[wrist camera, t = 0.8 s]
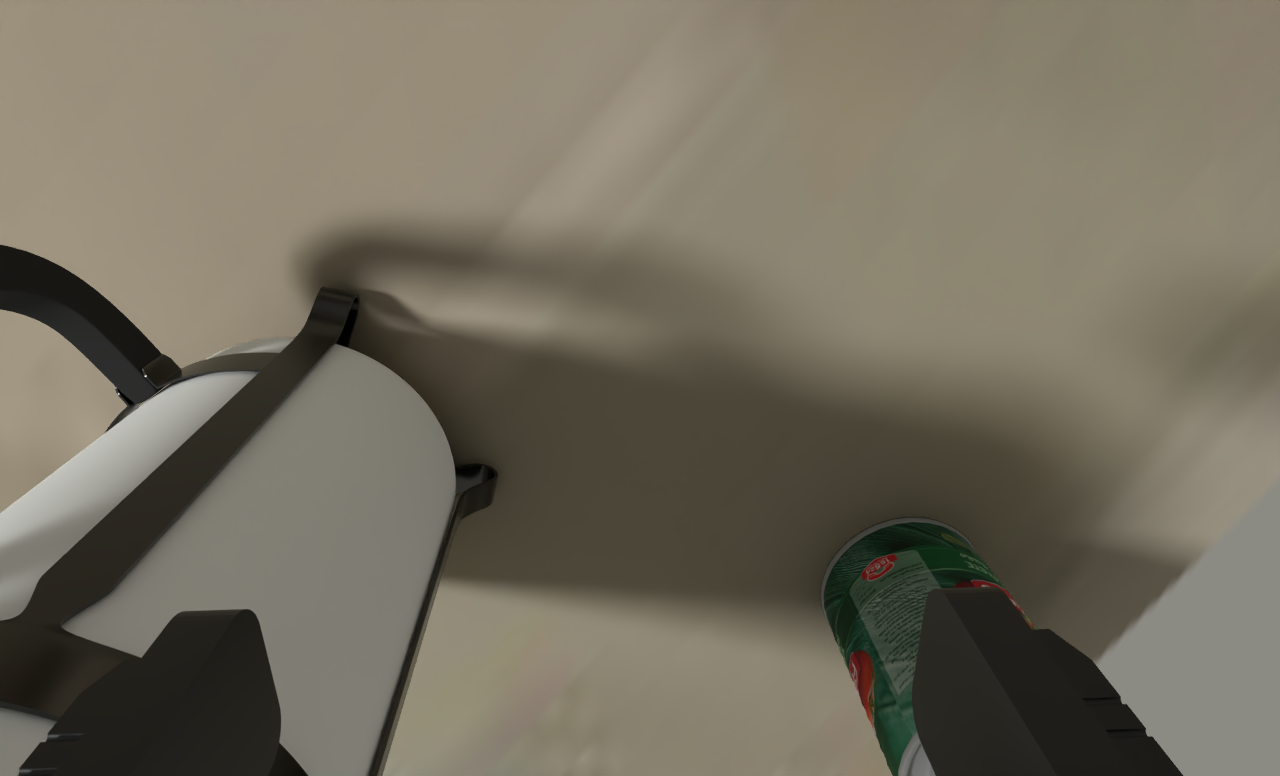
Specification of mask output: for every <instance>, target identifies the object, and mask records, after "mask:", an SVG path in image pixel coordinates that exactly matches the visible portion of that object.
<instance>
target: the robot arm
mask: <svg viewBox="0 0 1280 776" xmlns="http://www.w3.org/2000/svg"><path fill="white" fill-rule="evenodd" d="M1120 699H1121V698H1120V695H1119V694H1118V693H1117V691H1116V690H1115V689H1114V688H1113V686H1112V685H1111V684H1110V683H1109V681H1108V680H1107V679H1106V678H1105V676H1104V675H1103V674H1102V673H1101V671H1100V670H1099V669H1098V667H1097V666H1096V665H1095V664H1094V662H1093V661H1092V660H1091V659H1090V658H1088V657H1087V656H1086V655H1084V654H1083V653H1081V652H1080V651H1079V650H1077V649H1076V648H1075V647H1073V646H1072V645H1070V644H1069V643H1068V642H1066V641H1065V640H1063V639H1062V638H1061V637H1059V636H1058V635H1057V634H1055V633H1054V632H1052V631H1051V630H1050V629H1038V630H1032V629H1031V628H1030V626H1029V625H1028V623H1027V622H1026V621H1025V619H1024V618H1023V617H1022V615H1021V614H1020V612H1019V611H1018V610H1017V608H1016V607H1015V606H1014V604H1013V603H1012V602H1011V600H1010V599H1009V597H1008V596H1007V595H1006V594H1005V593H1004V591H1002V590H1001V589H1000V588H998V587H968V588H938V589H933V590H931V591H930V593H929V594H928V596H927V599H926V603H925V609H924V615H923V621H922V628H921V634H920V640H919V646H918V653H917V659H916V665H915V672H914V678H913V685H912V708H913V715H914V721H915V726H916V729H917V733H918V736H919V739H920V742H921V744H922V746H923V749H924V751H925V753H926V755H927V757H928V760H929V762H930V764H931V766H932V768H933V771H934V773H935V775H936V776H1183V775H1182V774H1181V772H1180V771H1179V770H1178V768H1177V767H1176V766H1175V765H1174V764H1173V762H1172V761H1171V760H1170V758H1169V757H1168V756H1167V755H1166V753H1165V752H1164V751H1163V749H1162V748H1161V747H1160V746H1159V744H1158V743H1157V742H1156V741H1155V740H1154V738H1153V737H1148V736H1147V735H1146V728H1145V727H1144V726H1143V724H1142V723H1141V722H1140V720H1139V719H1138V718H1137V717H1136V715H1135V714H1134V713H1133V712H1132V710H1131V709H1130V708H1129V707H1128V705H1127V704H1122V703H1121V700H1120ZM280 734H281V710H280V705H279V700H278V696H277V692H276V688H275V684H274V680H273V676H272V672H271V668H270V663H269V659H268V655H267V651H266V647H265V643H264V639H263V635H262V631H261V627H260V623H259V620H258V618H257V616H256V614H255V613H254V612H253V611H251V610H249V609H232V610H202V611H182V612H180V613H178V614H176V615H175V616H174V617H173V618H172V619H171V620H170V621H169V623H168V624H167V625H166V626H165V628H164V629H163V630H162V632H161V633H160V634H159V636H158V637H157V638H156V640H155V641H154V642H153V643H152V645H151V646H150V647H149V649H148V650H147V651H146V653H145V654H144V655H143V657H142V658H129V659H126V660H124V661H123V662H122V663H120V664H119V665H118V666H116V667H115V668H114V669H112V670H111V671H110V672H108V673H107V674H106V675H104V676H103V677H101V678H100V679H99V680H97V681H96V682H95V683H93V684H92V685H91V686H89V687H88V688H87V689H85V690H84V691H83V692H81V693H80V694H79V696H78V697H77V698H76V699H75V700H74V702H73V703H72V704H71V705H70V707H69V708H68V709H67V710H66V711H65V713H64V714H63V715H62V716H61V718H60V719H59V720H58V721H57V723H56V724H55V725H54V726H53V727H52V729H51V730H50V731H49V732H48V734H47V735H48V737H47V740H46V742H40V743H39V745H38V746H37V747H36V748H35V749H34V751H33V752H32V753H31V754H30V756H29V757H28V758H27V759H26V760H25V762H24V763H23V764H22V765H21V767H20V768H19V774H18V776H268V774H269V772H270V770H271V768H272V766H273V763H274V761H275V758H276V754H277V750H278V746H279V741H280Z"/></svg>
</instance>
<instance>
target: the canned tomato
mask: <svg viewBox="0 0 1280 776" xmlns="http://www.w3.org/2000/svg"><path fill="white" fill-rule="evenodd" d="M968 587H998V588H1000V589H1001V590H1002V591H1004V593H1005V594H1006V595H1007V596H1008V597H1009V599H1010V600H1011V602H1012V603H1013V604H1014V606H1015V607H1016V608H1017V610H1018V611H1019V612H1020V614H1021V615H1022V617H1023V618H1024V619H1025V621H1026V622H1027V623H1028V625H1029V626H1030V628H1031V629H1032V630H1037V629H1036V627H1035V626H1034V625H1033V624H1032V622H1031V621H1030V620H1029V619H1028V617H1027V616H1026V614H1025V613H1024V612H1023V611H1022V609H1021V608H1020V607H1019V606H1018V605H1017V603H1016V602H1015V600H1014V599H1013V598H1012V597H1011V595H1010V594H1009V593H1008V591H1007V590H1006V589H1005V588H1004V586H1003V585H1002V584H1001V583H1000V581H999V580H998V579H997V577H996V576H995V575H994V574H993V572H992V571H991V569H990V568H989V567H988V566H987V565H986V563H985V562H984V561H983V560H982V558H981V557H980V556H979V555H978V554H977V552H976V550H975V548H974V547H973V545H972V544H971V543H970V542H969V540H968V539H967V538H966V537H965V536H964V535H962V534H961V533H960V532H959V531H957V530H956V529H955V528H953V527H951V526H949V525H947V524H944V523H942V522H939V521H935V520H931V519H927V518H911V517H910V518H901V519H893V520H890V521H887V522H883V523H880V524H877V525H875V526H873V527H871V528H868V529H866V530H864V531H862V532H861V533H859V534H858V535H857V536H855V537H854V538H852V539H851V540H849V541H848V542H847V543H846V544H845V545H844V546H843V547H842V548H841V549H840V550H839V551H838V552H837V554H836V555H835V557H834V558H833V559H832V561H831V562H830V564H829V566H828V568H827V570H826V573H825V575H824V577H823V582H822V587H821V605H822V608H823V612H824V615H825V618H826V620H827V621H828V623H829V625H830V627H831V629H832V632H833V634H834V637H835V640H836V642H837V644H838V646H839V649H840V652H841V654H842V656H843V658H844V661H845V664H846V666H847V668H848V670H849V672H850V676H851V678H852V680H853V682H854V684H855V687H856V691H857V692H858V694H859V696H860V698H861V702H862V705H863V706H864V708H865V710H866V713H867V717H868V719H869V721H870V722H871V724H872V727H873V731H874V733H875V735H876V737H877V739H878V741H879V744H880V748H881V750H882V752H883V753H884V755H885V758H886V761H887V765H888V767H889V769H890V771H891V773H892V775H893V776H936V775H935V773H934V771H933V768H932V766H931V764H930V762H929V760H928V757H927V755H926V753H925V751H924V749H923V746H922V744H921V742H920V739H919V736H918V733H917V729H916V726H915V721H914V715H913V708H912V685H913V678H914V672H915V665H916V659H917V653H918V646H919V640H920V634H921V628H922V621H923V615H924V609H925V603H926V599H927V596H928V594H929V593H930V591H931V590H933V589H938V588H968Z"/></svg>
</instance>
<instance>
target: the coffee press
mask: <svg viewBox="0 0 1280 776" xmlns="http://www.w3.org/2000/svg"><path fill="white" fill-rule="evenodd" d="M0 309H2V310H7V311H12V312H16V313H19V314H23V315H26V316H29V317H31V318H34V319H36V320H38V321H40V322H42V323H44V324H46V325H48V326H50V327H51V328H53V329H54V330H56V331H57V332H58V333H60V334H61V335H62V336H63V337H65V338H66V339H67V340H68V341H70V342H71V343H72V344H73V345H74V346H75V347H76V348H77V349H78V350H79V351H80V352H81V353H83V354H84V355H85V356H86V357H87V358H88V359H89V360H90V361H91V362H92V363H93V364H94V365H95V366H96V367H97V368H98V369H99V370H100V371H101V372H102V373H103V374H104V375H105V376H106V377H107V378H108V379H109V380H110V381H111V382H112V383H113V384H114V385H115V390H116V392H117V395H118V396H119V397H120V398H121V399H122V400H123V401H124V402H125V403H126V405H127V407H126V408H125V409H124V410H123V411H122V412H121V413H120V414H119V415H118V416H117V417H116V418H115V420H114V421H113V422H112V423H111V425H110V426H109V427H108V429H107V430H106V432H105V433H104V434H103V435H102V436H101V437H99V438H98V439H97V440H95V441H94V442H93V443H91V444H90V445H89V446H88V447H86V448H85V449H84V450H82V451H81V452H80V453H78V454H77V455H76V456H74V457H73V458H72V459H70V460H69V461H68V462H67V463H65V464H64V465H63V466H61V467H60V468H59V469H57V470H56V471H55V472H53V473H52V474H51V475H50V476H48V477H47V478H46V479H44V480H43V481H42V482H40V483H39V484H38V485H36V486H35V487H34V488H32V489H31V490H30V491H29V492H27V493H26V494H25V495H23V496H22V497H21V498H19V499H18V500H17V501H15V502H14V503H13V504H12V505H10V506H9V507H8V508H6V509H5V510H4V511H2V512H1V513H0V776H18V774H19V768H20V767H21V765H22V764H23V763H24V762H25V760H26V759H27V758H28V757H29V756H30V754H31V753H32V752H33V751H34V749H35V748H36V747H37V746H38V745H39V743H40V742H46V740H47V737H48V735H47V734H48V732H49V731H50V730H51V729H52V727H53V726H54V725H55V724H56V723H57V721H58V720H59V719H60V718H61V716H62V715H63V714H64V713H65V711H66V710H67V709H68V708H69V707H70V705H71V704H72V703H73V702H74V700H75V699H76V698H77V697H78V696H79V694H80V693H81V692H83V691H84V690H85V689H87V688H88V687H89V686H91V685H92V684H93V683H95V682H96V681H97V680H99V679H100V678H101V677H103V676H104V675H106V674H107V673H108V672H110V671H111V670H112V669H114V668H115V667H116V666H118V665H119V664H120V663H122V662H123V661H124V660H126V659H129V658H142V657H143V655H144V654H145V653H146V651H147V650H148V649H149V647H150V646H151V645H152V643H153V642H154V641H155V640H156V638H157V637H158V636H159V634H160V633H161V632H162V630H163V629H164V628H165V626H166V625H167V624H168V623H169V621H170V620H171V619H172V618H173V617H174V616H175V615H176V614H178V613H180V612H182V611H202V610H232V609H249V610H251V611H253V612H254V613H255V614H256V616H257V618H258V620H259V623H260V627H261V631H262V635H263V639H264V643H265V647H266V651H267V655H268V659H269V663H270V668H271V672H272V676H273V680H274V684H275V688H276V692H277V696H278V700H279V705H280V710H281V734H280V741H279V746H278V750H277V754H276V758H275V761H274V763H273V766H272V768H271V770H270V772H269V774H268V776H382V775H383V771H384V768H385V765H386V761H387V758H388V755H389V751H390V748H391V745H392V741H393V738H394V734H395V731H396V728H397V724H398V721H399V718H400V714H401V711H402V707H403V704H404V701H405V697H406V694H407V691H408V687H409V684H410V680H411V677H412V674H413V670H414V667H415V664H416V660H417V657H418V654H419V650H420V647H421V643H422V640H423V637H424V633H425V630H426V627H427V623H428V620H429V617H430V613H431V610H432V607H433V603H434V600H435V597H436V593H437V590H438V587H439V583H440V580H441V577H442V573H443V570H444V567H445V563H446V560H447V557H448V553H449V550H450V547H451V544H452V541H453V538H454V535H455V532H456V529H457V527H458V524H459V523H460V521H461V520H462V519H463V518H465V517H466V516H468V515H470V514H472V513H474V512H476V511H478V510H481V509H483V508H485V507H488V506H489V505H491V504H492V502H493V497H494V492H495V487H496V482H497V477H498V474H497V472H496V470H494V469H493V468H491V467H489V466H487V465H483V464H468V465H464V466H459V467H454V461H453V457H452V453H451V449H450V446H449V443H448V441H447V438H446V436H445V433H444V431H443V429H442V427H441V425H440V423H439V422H438V420H437V418H436V417H435V415H434V413H433V412H432V410H431V409H430V408H429V406H428V405H427V404H426V402H425V401H424V400H423V399H422V398H421V396H420V395H419V394H418V393H417V392H416V391H415V390H414V389H413V388H412V387H411V386H410V385H409V384H408V383H407V382H405V381H404V380H403V379H402V378H401V377H399V376H398V375H397V374H396V373H394V372H393V371H391V370H390V369H389V368H387V367H386V366H384V365H382V364H381V363H379V362H377V361H376V360H374V359H372V358H370V357H368V356H366V355H364V354H362V353H359V352H357V351H355V350H352V349H349V348H348V347H349V343H350V340H351V337H352V333H353V330H354V327H355V324H356V320H357V316H358V311H359V295H358V294H355V293H350V292H345V291H340V290H336V289H331V288H326V287H322V288H321V289H320V291H319V292H318V295H317V297H316V300H315V302H314V305H313V307H312V310H311V312H310V315H309V317H308V319H307V322H306V324H305V326H304V328H303V329H302V331H301V332H300V333H299V334H298V335H297V336H296V337H276V338H265V339H258V340H253V341H248V342H244V343H241V344H237V345H234V346H232V347H229V348H227V349H224V350H222V351H220V352H218V353H216V354H214V355H212V356H210V357H209V358H207V359H205V360H202V361H199V362H196V363H194V364H191V365H189V366H186V367H184V368H182V369H181V368H179V367H178V365H177V364H176V363H175V362H174V361H173V360H172V359H171V358H169V357H168V356H166V355H164V354H161V353H160V352H159V350H158V349H157V348H156V347H155V346H154V345H153V344H152V343H151V342H150V341H149V340H148V339H147V337H146V336H145V335H144V334H143V333H142V332H141V331H140V330H139V329H138V328H137V327H136V326H135V325H134V324H133V323H132V322H131V321H130V320H129V319H128V318H127V317H126V316H125V315H124V314H123V313H121V312H120V311H119V310H118V309H117V308H116V307H115V306H114V305H113V304H112V303H111V302H110V301H108V300H107V299H106V298H105V297H104V296H102V295H101V294H100V293H99V292H98V291H96V290H95V289H94V288H93V287H91V286H90V285H89V284H87V283H86V282H84V281H83V280H82V279H80V278H79V277H77V276H76V275H74V274H73V273H71V272H69V271H68V270H66V269H65V268H63V267H61V266H59V265H57V264H55V263H53V262H51V261H49V260H47V259H45V258H42V257H40V256H37V255H35V254H32V253H29V252H27V251H23V250H20V249H16V248H12V247H9V246H4V245H0ZM170 383H171V384H170ZM168 384H169V385H168ZM166 385H168V386H167V387H165V386H166ZM163 387H165V388H164V389H163V390H161V389H162V388H163ZM160 390H161V391H160ZM158 391H160V392H159V393H157V392H158ZM156 393H157V394H156ZM154 394H156V395H155V396H153V395H154ZM152 396H153V397H152ZM150 397H152V398H151V399H149V398H150ZM147 399H149V400H148V401H147V402H145V403H144V404H143V405H141V406H140V407H138V406H139V405H140V403H142V402H144V401H146V400H147ZM137 407H138V408H137ZM461 492H463V494H462V495H461V497H460V499H459V501H458V503H457V506H456V509H455V512H454V515H453V518H452V521H451V524H450V520H451V516H452V512H453V507H454V502H455V494H457V493H461ZM449 524H450V527H449ZM448 528H449V530H448ZM447 531H448V533H447ZM446 535H447V536H446ZM445 538H446V540H445ZM444 541H445V543H444ZM443 545H444V546H443ZM442 548H443V549H442ZM441 551H442V552H441ZM439 558H440V559H439ZM438 561H439V562H438ZM434 574H435V575H434Z"/></svg>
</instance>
